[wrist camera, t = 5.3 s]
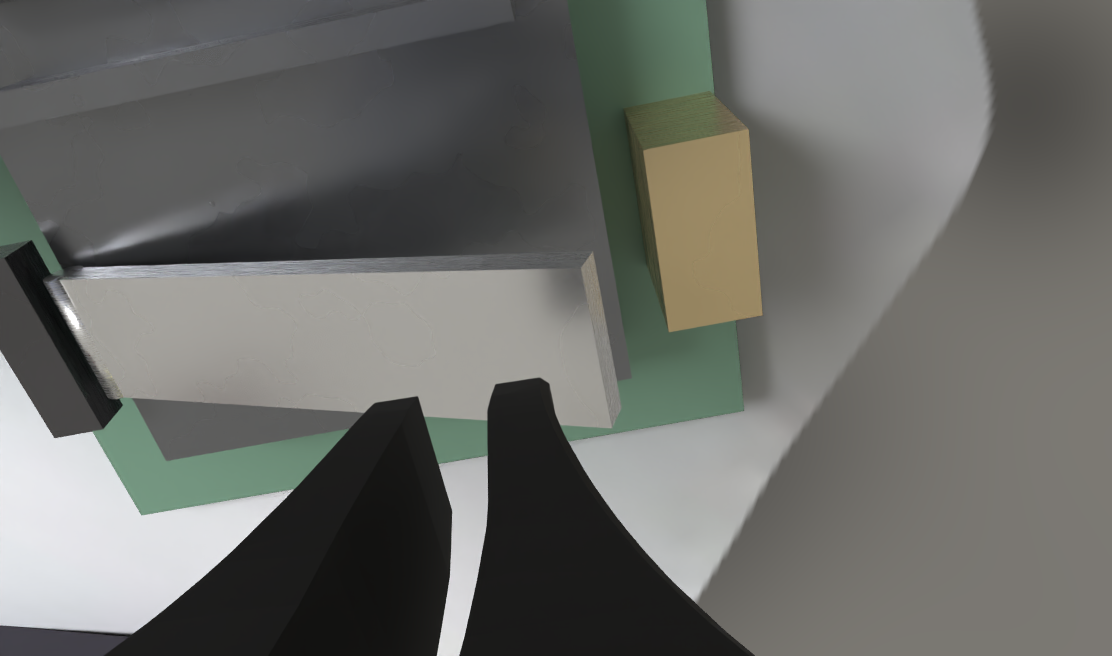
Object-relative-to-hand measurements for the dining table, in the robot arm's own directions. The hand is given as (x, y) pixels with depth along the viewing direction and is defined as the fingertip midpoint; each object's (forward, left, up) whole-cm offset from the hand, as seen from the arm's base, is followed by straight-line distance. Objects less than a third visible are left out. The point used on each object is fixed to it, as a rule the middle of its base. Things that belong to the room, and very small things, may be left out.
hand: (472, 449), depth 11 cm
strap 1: (-4, 0, -5) cm, 6 cm away
